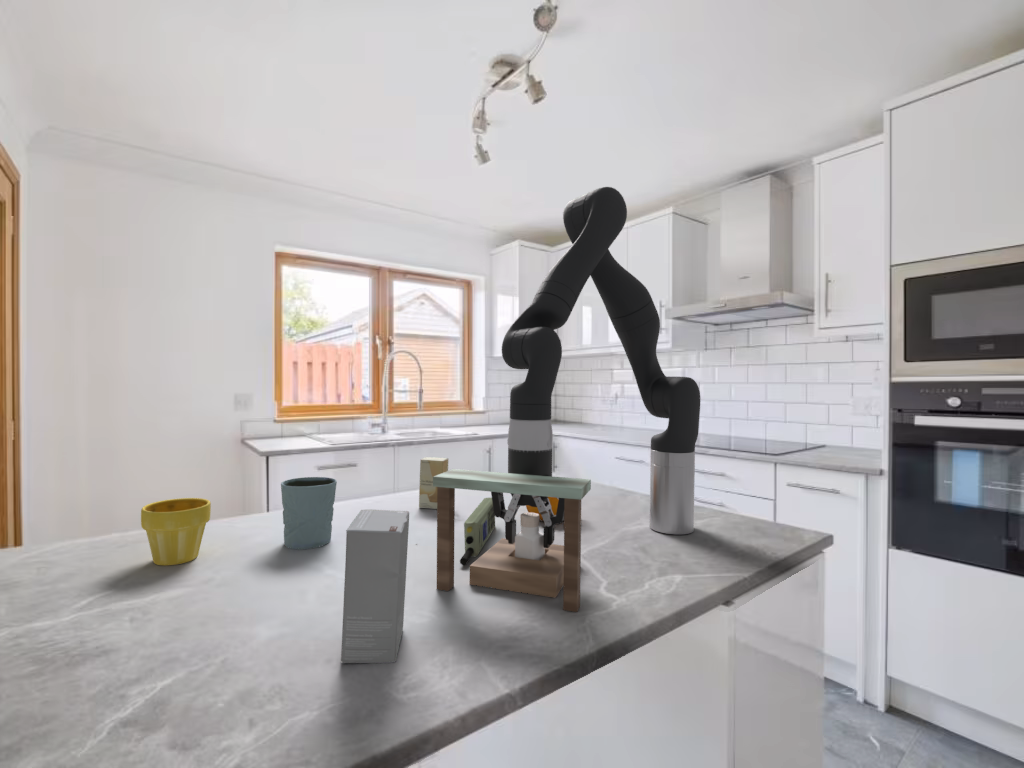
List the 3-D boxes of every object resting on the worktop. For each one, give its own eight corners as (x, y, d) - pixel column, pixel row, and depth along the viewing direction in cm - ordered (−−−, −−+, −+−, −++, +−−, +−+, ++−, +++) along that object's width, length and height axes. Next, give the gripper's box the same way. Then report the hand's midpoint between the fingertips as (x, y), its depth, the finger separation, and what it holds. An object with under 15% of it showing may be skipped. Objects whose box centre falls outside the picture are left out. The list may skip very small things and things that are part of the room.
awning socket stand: (479, 551, 97) (480, 458, 97) (602, 567, 89) (603, 466, 89) (432, 590, 79) (433, 476, 79) (579, 614, 72) (581, 488, 71)
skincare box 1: (354, 630, 67) (355, 508, 66) (410, 628, 67) (411, 507, 67) (337, 667, 58) (338, 527, 58) (402, 665, 59) (403, 526, 59)
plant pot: (218, 559, 92) (219, 504, 91) (149, 575, 84) (149, 515, 84) (200, 545, 99) (200, 494, 99) (134, 559, 91) (134, 504, 91)
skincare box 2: (418, 508, 128) (418, 459, 128) (424, 504, 132) (424, 456, 132) (443, 509, 127) (443, 460, 127) (448, 505, 131) (448, 457, 131)
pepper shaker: (527, 564, 91) (527, 510, 90) (546, 569, 88) (546, 514, 88) (513, 571, 87) (513, 515, 87) (532, 576, 85) (532, 519, 85)
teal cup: (268, 546, 99) (269, 483, 99) (308, 531, 108) (308, 474, 108) (310, 553, 95) (310, 488, 95) (347, 537, 104) (347, 478, 104)
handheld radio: (497, 527, 113) (473, 569, 89) (482, 527, 114) (454, 569, 89) (496, 497, 113) (472, 530, 89) (481, 497, 114) (453, 530, 89)
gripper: (576, 445, 89) (575, 542, 89) (498, 440, 93) (497, 533, 94) (566, 451, 82) (565, 557, 82) (482, 446, 86) (481, 546, 86)
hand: (529, 544), depth 88 cm, fingers open, 5 cm apart
